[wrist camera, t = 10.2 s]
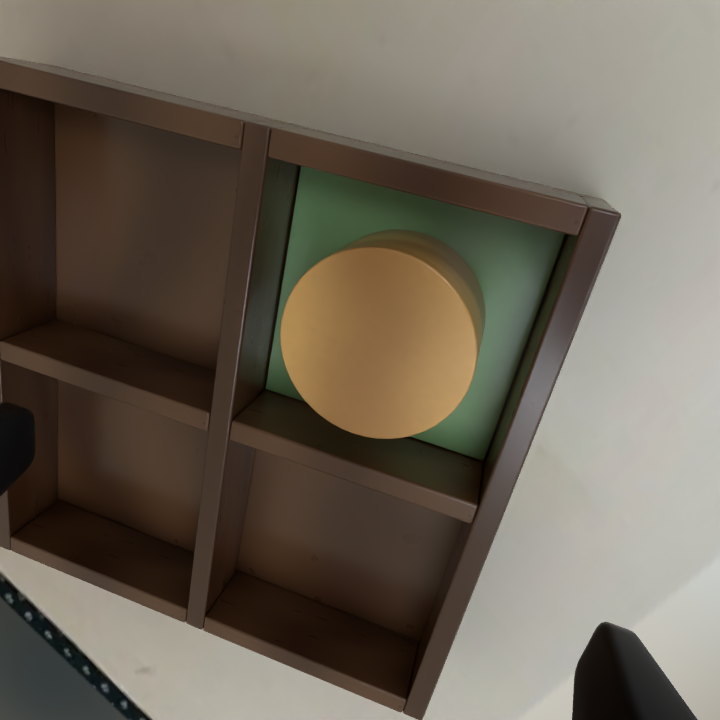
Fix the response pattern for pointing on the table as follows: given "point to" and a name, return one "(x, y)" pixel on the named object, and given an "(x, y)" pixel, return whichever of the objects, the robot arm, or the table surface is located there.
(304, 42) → the table surface
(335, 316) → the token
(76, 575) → the compartment tray
